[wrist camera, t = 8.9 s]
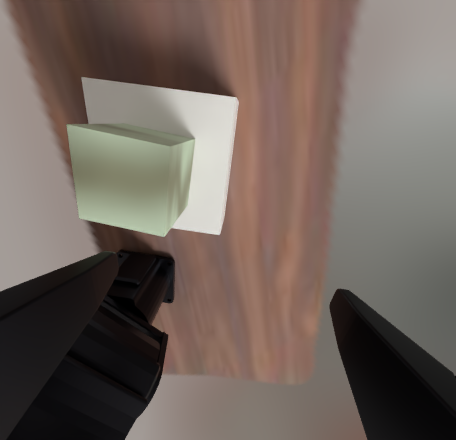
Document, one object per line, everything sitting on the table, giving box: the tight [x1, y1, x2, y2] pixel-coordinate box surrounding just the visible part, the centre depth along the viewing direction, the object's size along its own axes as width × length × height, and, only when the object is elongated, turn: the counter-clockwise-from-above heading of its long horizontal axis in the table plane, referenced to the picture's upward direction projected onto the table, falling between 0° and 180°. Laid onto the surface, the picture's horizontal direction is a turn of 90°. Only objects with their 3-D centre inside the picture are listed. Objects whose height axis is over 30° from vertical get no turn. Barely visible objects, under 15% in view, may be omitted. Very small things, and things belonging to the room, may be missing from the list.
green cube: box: [66, 123, 195, 237], centre depth 13 cm, size 5×5×5 cm
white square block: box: [81, 77, 239, 235], centre depth 17 cm, size 10×10×4 cm
